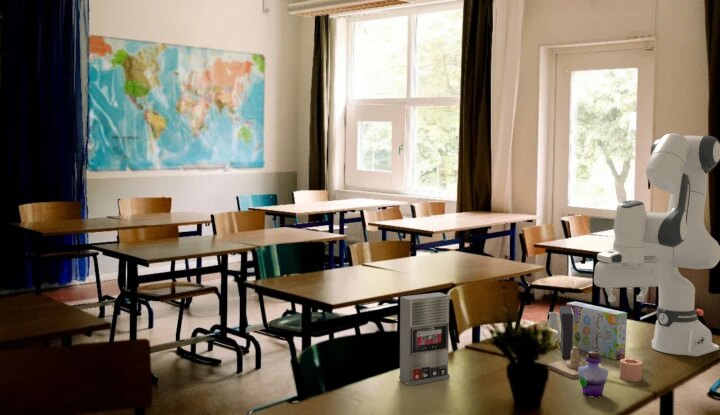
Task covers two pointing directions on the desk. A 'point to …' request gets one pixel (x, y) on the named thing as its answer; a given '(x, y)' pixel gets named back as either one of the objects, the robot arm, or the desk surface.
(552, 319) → the flask
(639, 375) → the pink cylinder
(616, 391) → the desk surface
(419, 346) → the cassette tape recorder
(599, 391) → the potion bottle
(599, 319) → the snack box
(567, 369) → the stand
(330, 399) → the desk surface
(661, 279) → the robot arm
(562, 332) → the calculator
